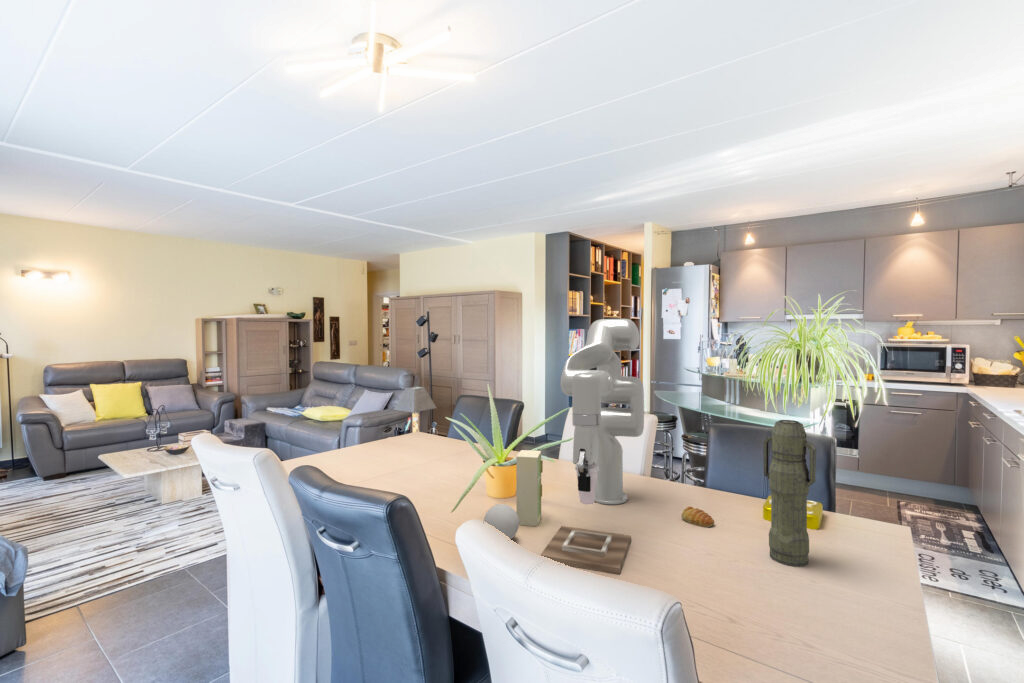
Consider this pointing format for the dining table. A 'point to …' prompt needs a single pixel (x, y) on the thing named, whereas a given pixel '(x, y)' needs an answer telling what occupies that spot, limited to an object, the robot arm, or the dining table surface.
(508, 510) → the ball
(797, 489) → the thermos
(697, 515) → the pastry
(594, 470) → the smoothie
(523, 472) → the toy refrigerator
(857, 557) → the dining table surface
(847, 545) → the dining table surface
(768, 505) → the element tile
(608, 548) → the walnut board
